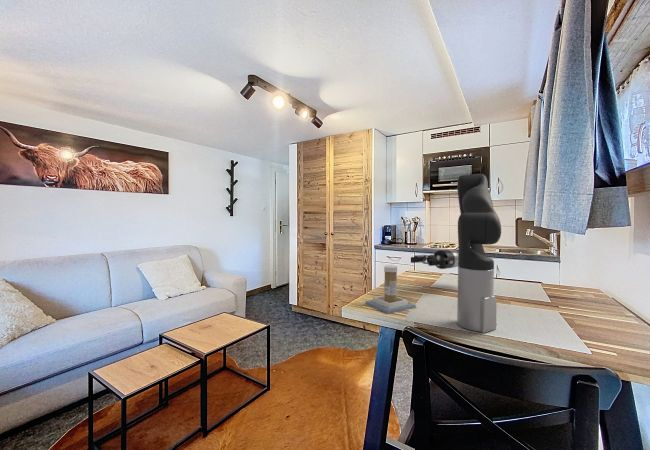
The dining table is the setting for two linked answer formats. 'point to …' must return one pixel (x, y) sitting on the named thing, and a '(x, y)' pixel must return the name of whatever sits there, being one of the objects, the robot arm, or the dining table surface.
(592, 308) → the dining table surface
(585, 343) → the dining table surface
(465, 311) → the robot arm
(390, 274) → the sprinkles bottle
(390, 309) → the grey stepped square plate
